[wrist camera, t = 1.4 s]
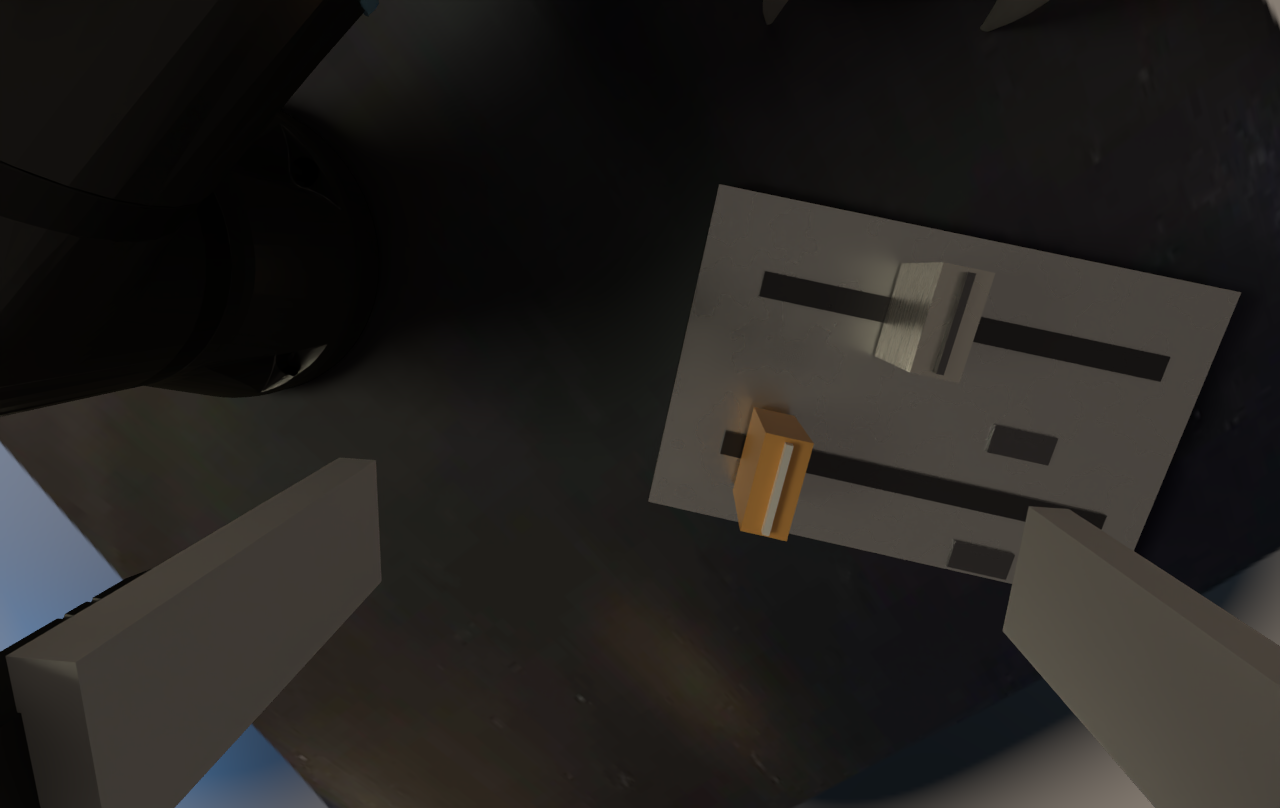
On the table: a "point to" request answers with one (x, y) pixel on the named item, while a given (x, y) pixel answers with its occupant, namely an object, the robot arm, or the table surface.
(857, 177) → the table surface
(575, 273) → the table surface
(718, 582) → the table surface
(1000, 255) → the console
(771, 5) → the toy rocket
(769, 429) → the fader
